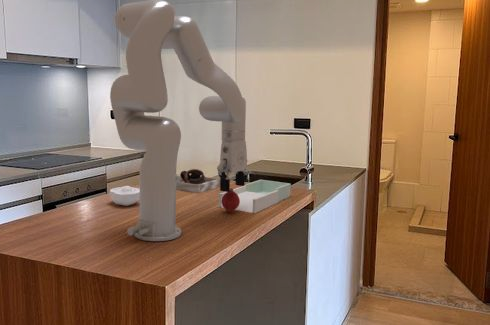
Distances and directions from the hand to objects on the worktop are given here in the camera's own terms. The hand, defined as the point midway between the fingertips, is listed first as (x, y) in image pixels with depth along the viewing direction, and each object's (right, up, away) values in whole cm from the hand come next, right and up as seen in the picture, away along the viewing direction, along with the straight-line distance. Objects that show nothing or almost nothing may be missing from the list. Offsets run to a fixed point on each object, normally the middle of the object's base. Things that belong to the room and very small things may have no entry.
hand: (232, 188), depth 150 cm
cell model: (-36, -6, +6) cm, 37 cm away
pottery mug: (-18, -2, +40) cm, 43 cm away
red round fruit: (-1, -8, +1) cm, 8 cm away
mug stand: (-18, -1, +39) cm, 43 cm away
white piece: (+5, -7, +12) cm, 15 cm away
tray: (+13, -5, +25) cm, 29 cm away
